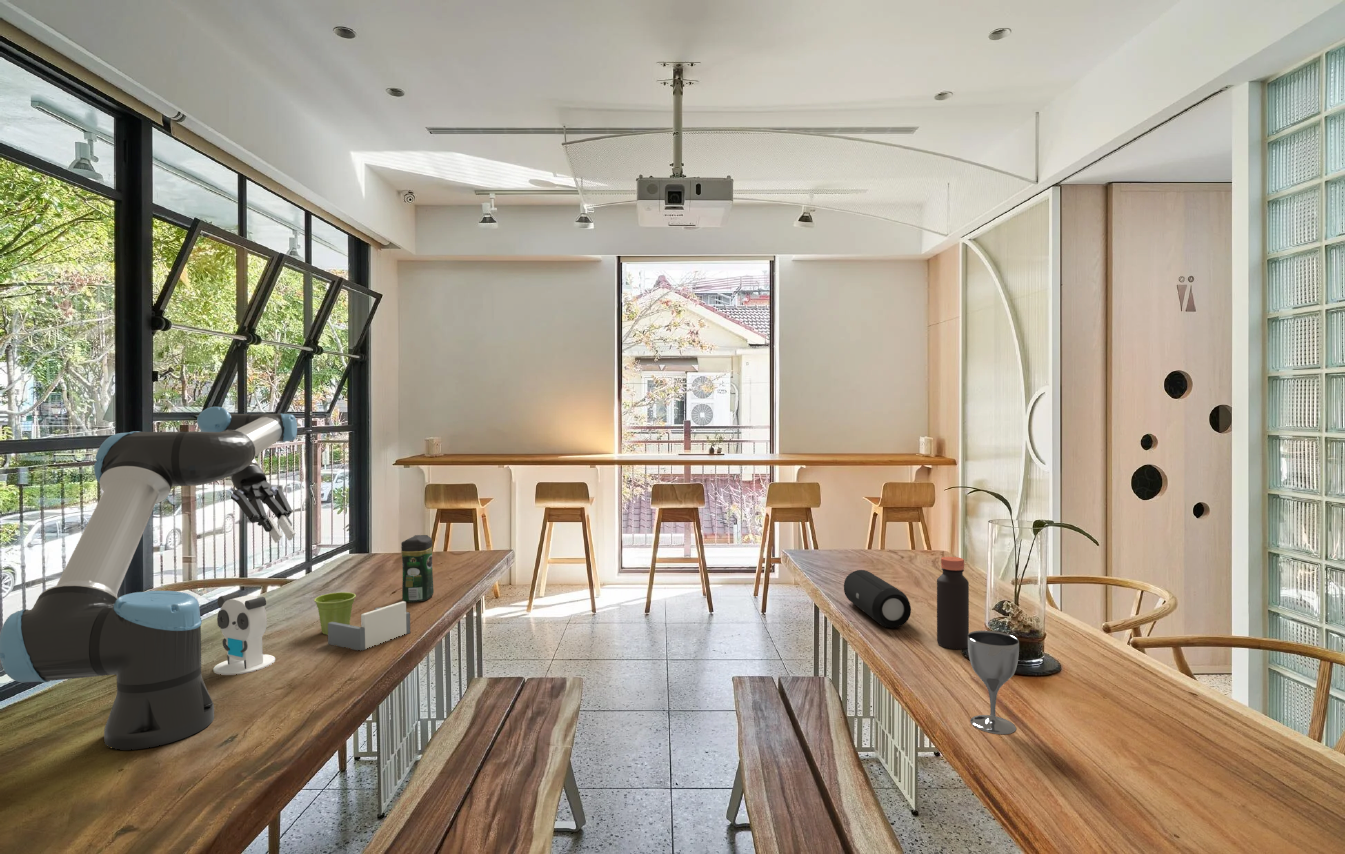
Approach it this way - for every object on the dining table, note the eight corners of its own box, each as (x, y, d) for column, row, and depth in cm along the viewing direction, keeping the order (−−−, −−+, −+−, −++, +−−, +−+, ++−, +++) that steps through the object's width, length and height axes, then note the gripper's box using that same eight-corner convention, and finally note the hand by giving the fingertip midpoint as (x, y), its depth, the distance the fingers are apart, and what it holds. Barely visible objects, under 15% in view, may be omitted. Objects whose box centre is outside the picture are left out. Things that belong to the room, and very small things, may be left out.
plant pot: (363, 625, 174) (363, 592, 173) (342, 638, 164) (341, 602, 164) (329, 625, 174) (329, 591, 174) (306, 637, 165) (305, 601, 165)
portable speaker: (840, 603, 191) (840, 568, 191) (874, 602, 192) (874, 567, 192) (876, 631, 166) (875, 591, 166) (914, 630, 167) (914, 590, 167)
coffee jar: (410, 594, 204) (409, 533, 204) (436, 594, 204) (435, 533, 204) (398, 603, 194) (397, 539, 194) (425, 602, 195) (424, 538, 194)
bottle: (969, 642, 157) (968, 557, 157) (968, 651, 151) (968, 563, 151) (937, 638, 160) (937, 554, 160) (936, 647, 154) (935, 560, 154)
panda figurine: (200, 669, 144) (198, 599, 144) (252, 652, 155) (251, 587, 154) (234, 678, 139) (232, 606, 139) (286, 660, 149) (285, 593, 149)
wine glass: (975, 710, 121) (975, 627, 121) (1023, 722, 116) (1023, 636, 116) (961, 726, 115) (961, 639, 115) (1012, 740, 110) (1012, 649, 110)
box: (360, 650, 155) (360, 616, 155) (328, 644, 160) (327, 610, 160) (410, 632, 168) (409, 600, 168) (378, 626, 173) (378, 595, 173)
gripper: (268, 479, 193) (307, 542, 186) (209, 485, 179) (248, 552, 171) (279, 461, 190) (319, 524, 183) (220, 465, 176) (261, 533, 169)
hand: (285, 537), depth 177 cm, fingers open, 3 cm apart
